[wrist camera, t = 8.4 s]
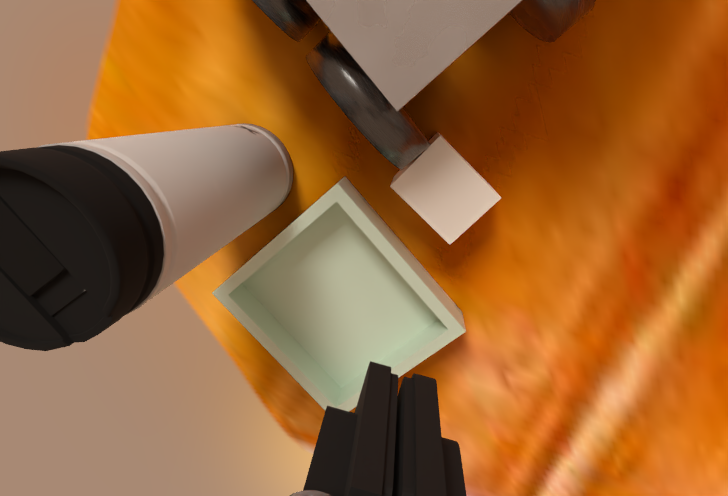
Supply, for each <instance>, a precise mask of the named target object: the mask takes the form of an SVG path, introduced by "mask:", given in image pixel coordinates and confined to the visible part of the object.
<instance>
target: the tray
mask: <svg viewBox="0 0 728 496" xmlns="http://www.w3.org/2000/svg"><path fill="white" fill-rule="evenodd" d="M212 294H213V295H214V296H215V297H216V298H217V299H218V300H219V301H220V302H221V303H222V304H223V305H224V306H225V307H226V308H227V309H228V310H229V311H230V312H231V313H232V314H233V315H234V317H235V318H236V319H237V320H238V321H239V322H240V323H241V324H242V325H243V326H244V327H245V328H246V329H247V330H248V331H249V332H250V333H251V334H252V335H253V336H254V337H255V338H256V339H257V340H258V341H259V342H260V343H261V345H262V346H263V347H264V348H265V349H266V350H267V351H268V352H269V353H270V354H271V355H272V356H273V357H274V358H275V359H276V360H277V361H278V362H279V363H280V364H281V365H282V366H283V367H284V368H285V369H286V370H287V371H288V373H289V374H290V375H291V376H292V377H293V378H294V379H295V380H296V381H297V382H298V383H299V384H300V385H301V386H302V387H303V388H304V389H305V390H306V391H307V392H308V393H309V394H310V395H311V396H312V397H313V398H314V400H315V401H316V402H317V403H318V404H319V405H320V406H321V407H322V408H323V409H324V410H325V411H326V408H327V406H330V407H334V408H338V409H341V410H345V411H348V412H349V411H350V410H352V409H353V408H355V407H356V406H357V403H358V400H359V396H360V393H361V390H362V386H363V383H364V379H365V376H366V372H367V369H368V366H369V363H370V361H371V362H375V363H379V364H382V365H386V366H389V367H391V373H393V374H396V375H398V378H399V377H400V376H402V375H403V374H405V373H406V372H408V371H409V370H410V369H412V368H413V367H415V366H416V365H418V364H419V363H421V362H422V361H424V360H425V359H427V358H428V357H430V356H431V355H432V354H434V353H435V352H437V351H438V350H440V349H441V348H443V347H444V346H446V345H447V344H449V343H450V342H451V341H453V340H454V339H456V338H457V337H459V336H460V335H462V334H463V333H465V332H466V329H465V324H464V319H463V314H462V311H461V310H460V309H459V308H458V307H457V305H456V304H455V303H454V302H453V301H452V300H451V299H450V297H449V296H448V295H447V294H446V293H445V292H444V290H443V289H442V288H441V287H440V286H439V285H438V283H437V282H436V281H435V280H434V279H433V278H432V276H431V275H430V274H429V273H428V272H427V271H426V269H425V268H424V267H423V266H422V265H421V264H420V263H419V261H418V260H417V259H416V258H415V257H414V256H413V254H412V253H411V252H410V251H409V250H408V249H407V247H406V246H405V245H404V244H403V243H402V242H401V240H400V239H399V238H398V237H397V236H396V235H395V233H394V232H393V231H392V230H391V229H390V228H389V227H388V225H387V224H386V223H385V222H384V221H383V220H382V218H381V217H380V216H379V215H378V214H377V213H376V211H375V210H374V209H373V208H372V207H371V206H370V204H369V203H368V202H367V201H366V200H365V199H364V197H363V196H362V195H361V194H360V193H359V192H358V190H357V189H356V188H355V187H354V186H353V185H352V184H351V182H350V181H349V180H348V179H347V178H346V177H343V178H342V179H341V180H340V181H339V182H338V183H337V184H335V185H334V186H333V187H332V188H331V189H330V190H329V191H327V192H326V193H325V194H324V195H323V196H322V197H321V198H319V199H318V200H317V201H316V202H315V203H314V204H313V205H311V206H310V207H309V208H308V209H307V210H306V211H305V212H303V213H302V214H301V215H300V216H299V217H298V218H297V219H295V220H294V221H293V222H292V223H291V224H290V225H289V226H287V227H286V228H285V229H284V230H283V231H282V232H281V233H279V234H278V235H277V236H276V237H275V238H274V239H273V240H271V241H270V242H269V243H268V244H267V245H266V246H265V247H263V248H262V249H261V250H260V251H259V252H258V253H257V254H255V255H254V256H253V257H252V258H251V259H250V260H249V261H247V262H246V263H245V264H244V265H243V266H242V267H241V268H239V269H238V270H237V271H236V272H235V273H234V274H233V275H231V276H230V277H229V278H228V279H227V280H226V281H225V282H224V283H223V284H221V285H220V286H219V287H218V288H217V289H216V290H215V291H214V292H213V293H212Z"/></svg>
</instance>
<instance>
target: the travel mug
mask: <svg viewBox="0 0 728 496" xmlns="http://www.w3.org/2000/svg"><path fill="white" fill-rule="evenodd" d="M292 182H293V167H292V161H291V159H290V156H289V153H288V151H287V150H286V148H285V146H284V145H283V143H282V142H281V141H280V140H279V139H278V138H277V137H276V136H275V135H274V134H272V133H271V132H270V131H268V130H266V129H264V128H262V127H260V126H256V125H253V124H236V125H226V126H217V127H207V128H198V129H188V130H179V131H169V132H160V133H150V134H141V135H131V136H122V137H113V138H103V139H94V140H84V141H75V142H66V143H56V144H48V145H42V146H40V147H37V148H27V149H19V150H10V151H1V152H0V342H3V343H5V344H8V345H13V346H16V347H20V348H24V349H31V350H42V351H48V350H53V349H57V348H61V347H66V346H70V345H71V344H72V343H74V342H85V341H87V340H89V339H90V338H92V337H94V336H96V335H98V334H99V333H101V332H102V331H104V330H105V329H107V328H108V327H109V326H111V325H112V324H114V323H115V322H117V321H118V320H119V319H121V318H122V317H123V316H124V315H126V314H128V313H130V312H132V311H133V310H135V309H137V308H139V307H141V306H142V305H143V304H145V303H146V302H147V301H148V300H150V299H151V298H153V297H154V296H156V295H157V294H159V293H160V292H161V291H163V290H164V289H165V288H167V287H168V286H170V285H171V284H172V283H174V282H175V281H177V280H178V279H179V278H181V277H182V276H184V275H185V274H186V273H188V272H189V271H191V270H192V269H193V268H195V267H196V266H197V265H199V264H200V263H202V262H203V261H204V260H206V259H207V258H209V257H210V256H211V255H213V254H214V253H216V252H217V251H218V250H220V249H221V248H223V247H224V246H225V245H227V244H228V243H229V242H231V241H232V240H234V239H235V238H236V237H238V236H239V235H241V234H242V233H243V232H245V231H246V230H248V229H249V228H250V227H252V226H253V225H254V224H256V223H257V222H259V221H260V220H261V219H263V218H264V217H266V216H267V215H268V214H269V213H271V212H273V211H274V210H275V209H277V208H278V207H279V206H280V205H281V204H282V203H283V202H284V200H285V199H286V198H287V196H288V194H289V192H290V190H291V186H292Z"/></svg>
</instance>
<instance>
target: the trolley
mask: <svg viewBox="0 0 728 496" xmlns="http://www.w3.org/2000/svg"><path fill="white" fill-rule="evenodd" d="M252 1H253V2H254V3H255V4H256V5H257V6H258V7H259V8H260V9H261V10H262V11H263V12H264V13H265V14H266V15H267V16H268V17H269V18H270V19H271V20H272V21H273V22H274V23H275V24H276V25H277V26H278V27H279V28H281V29H282V30H283V31H284V32H285V33H286V34H287V35H289V36H290V37H291V38H293V39H294V40H296V41H298V42H300V40H301V39H302V38H303V37H304V36H305V35H306V34H307V33H308V32H309V31H310V30H311V29H312V28H313V27H314V26H315V25H316V24H317V23H318V22H319V21H320V20H321V19H322V20H323V21H324V23H325V24H326V25H327V26H328V27H329V29H330V30H331V31H330V32H329V33H328V34H327V35H326V37H325V38H324V39H323V40H322V41H321V42H320V43H319V44H318V45H317V46H316V47H315V48H314V49H313V50H312V51H311V52H310V53H309V54H308V55H307V56H306V59H307V62H308V64H309V65H310V67H311V69H312V71H313V72H314V74H315V75H316V77H317V78H318V79H319V81H320V82H321V84H322V85H323V86H324V88H325V89H326V91H327V92H328V93H329V94H330V96H331V97H332V98H333V100H334V101H335V102H336V103H337V105H338V106H339V107H340V108H341V110H342V111H343V112H344V113H345V114H346V116H347V117H348V118H349V119H350V120H351V121H352V123H353V124H354V125H355V126H356V127H357V128H358V129H359V131H360V132H361V133H362V134H363V135H364V136H365V137H366V138H367V139H368V140H369V141H370V143H371V144H372V145H373V146H374V147H375V148H376V149H377V150H378V151H379V152H380V153H381V154H382V155H383V156H384V157H385V158H387V159H388V160H389V161H390V162H391V163H392V164H394V165H395V166H396V167H398V168H399V169H403V168H404V167H405V166H407V165H408V164H409V163H410V162H411V161H412V160H414V159H415V158H416V157H417V156H418V155H420V154H421V153H422V152H423V151H424V150H426V149H427V148H428V147H429V146H430V144H429V142H428V140H427V139H426V138H425V136H424V135H423V133H422V132H421V131H420V129H419V128H418V127H417V126H416V124H415V123H414V122H413V120H412V119H411V118H410V116H409V115H408V114H407V113H406V111H405V110H404V109H403V108H402V107H404V106H405V105H406V104H407V103H408V102H409V101H410V100H411V99H413V98H414V97H415V96H416V95H417V94H418V93H419V92H420V91H422V90H423V89H424V88H425V87H426V86H427V85H428V84H429V83H431V82H432V81H433V80H434V79H435V78H436V77H437V76H438V75H439V74H441V73H442V72H443V71H444V70H445V69H446V68H447V67H448V66H450V65H451V64H452V63H453V62H454V61H455V60H456V59H457V58H459V57H460V56H461V55H462V54H463V53H464V52H465V51H466V50H468V49H469V48H470V47H471V46H472V45H473V44H474V43H475V42H477V41H478V40H479V39H480V38H481V37H482V36H483V35H484V34H486V33H487V32H488V31H489V30H490V29H491V28H492V27H493V26H495V25H496V24H497V23H498V22H499V21H500V20H501V19H502V18H504V17H505V16H506V15H507V14H508V13H509V14H510V15H511V16H512V17H513V18H514V19H515V20H516V21H517V22H518V23H519V24H520V25H521V26H522V27H523V28H525V29H526V30H527V31H528V32H529V33H531V34H532V35H534V36H535V37H537V38H538V39H540V40H542V41H545V42H554V41H555V40H556V39H557V38H559V37H560V36H561V35H562V34H563V33H564V32H566V31H567V30H568V29H569V28H570V27H572V26H573V25H574V24H575V23H576V22H578V21H579V20H580V19H581V18H582V17H583V16H585V15H586V14H587V13H588V12H589V11H591V10H592V8H593V7H594V4H595V1H596V0H252Z"/></svg>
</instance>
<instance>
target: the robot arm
mask: <svg viewBox="0 0 728 496" xmlns="http://www.w3.org/2000/svg"><path fill="white" fill-rule="evenodd" d="M397 394H398V396H397ZM290 496H466V490H465V483H464V476H463V469H462V462H461V455H460V448H459V444H458V443H457V442H456V441H453V440H449V439H446V438H442V437H441V428H440V417H439V406H438V395H437V384H436V379H433V378H429V377H426V376H422V375H418V374H415V373H414V374H413V376H412V378H407V377H404V378H403V381H402V384H401V387H400V390H399V393H398V375H396V374H393V373H391V367H389V366H386V365H382V364H379V363H375V362H371V361H370V363H369V366H368V369H367V372H366V376H365V379H364V383H363V386H362V390H361V393H360V396H359V400H358V403H357V407H356V410H355V413H352V412H348V411H345V410H341V409H338V408H334V407H330V406H327V408H326V411H325V415H324V418H323V422H322V425H321V429H320V433H319V436H318V440H317V443H316V447H315V450H314V454H313V457H312V461H311V465H310V468H309V472H308V475H307V480H306V483H305V486H304V490H303V491H301V492H296V493H293V494H292V495H290Z"/></svg>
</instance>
